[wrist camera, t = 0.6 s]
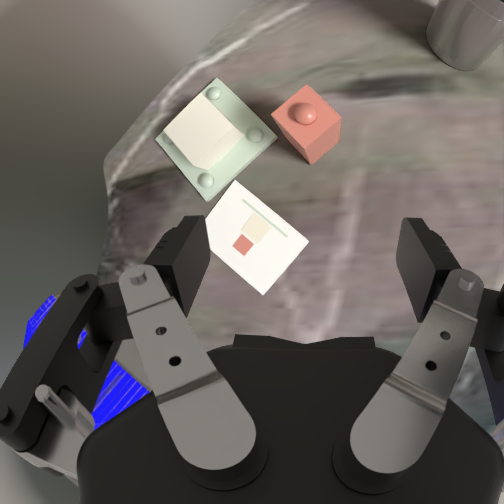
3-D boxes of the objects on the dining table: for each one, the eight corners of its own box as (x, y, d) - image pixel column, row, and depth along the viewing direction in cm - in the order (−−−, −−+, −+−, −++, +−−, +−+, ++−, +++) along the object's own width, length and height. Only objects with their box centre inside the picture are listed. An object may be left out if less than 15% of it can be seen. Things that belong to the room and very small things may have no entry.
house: (64, 343, 52) (7, 371, 36) (85, 283, 48) (15, 305, 32) (157, 430, 48) (111, 481, 33) (196, 382, 44) (144, 442, 29)
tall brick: (313, 115, 35) (306, 80, 25) (338, 141, 35) (341, 115, 25) (286, 138, 36) (269, 111, 26) (311, 165, 36) (303, 147, 26)
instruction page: (235, 180, 39) (234, 179, 38) (309, 241, 37) (309, 241, 37) (194, 234, 41) (193, 234, 41) (263, 295, 40) (262, 295, 39)
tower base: (219, 80, 37) (204, 64, 32) (278, 137, 37) (269, 126, 31) (158, 140, 41) (137, 132, 35) (209, 201, 40) (191, 200, 35)
